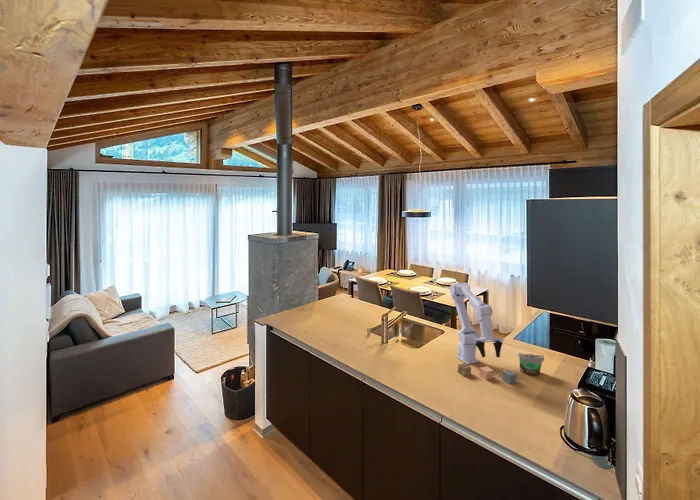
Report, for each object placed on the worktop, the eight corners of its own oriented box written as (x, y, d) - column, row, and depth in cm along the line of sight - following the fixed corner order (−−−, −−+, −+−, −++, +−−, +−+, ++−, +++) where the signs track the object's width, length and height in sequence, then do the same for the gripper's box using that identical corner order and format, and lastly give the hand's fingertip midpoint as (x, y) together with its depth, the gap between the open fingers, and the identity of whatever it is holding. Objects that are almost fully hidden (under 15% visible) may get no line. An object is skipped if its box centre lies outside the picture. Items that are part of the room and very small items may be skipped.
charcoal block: (502, 379, 176) (502, 371, 175) (509, 378, 177) (509, 369, 177) (509, 384, 171) (509, 375, 171) (516, 382, 173) (516, 373, 172)
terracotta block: (479, 376, 179) (480, 367, 178) (486, 374, 181) (487, 366, 180) (485, 380, 175) (486, 371, 174) (492, 378, 177) (493, 370, 176)
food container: (520, 376, 179) (522, 357, 177) (516, 370, 185) (518, 352, 183) (546, 378, 177) (548, 359, 176) (541, 372, 183) (543, 354, 182)
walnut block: (457, 372, 183) (458, 364, 182) (464, 370, 184) (465, 362, 184) (463, 376, 179) (463, 368, 178) (470, 374, 180) (471, 366, 179)
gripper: (469, 330, 181) (473, 357, 178) (496, 328, 170) (501, 358, 167) (476, 329, 185) (480, 356, 182) (503, 328, 175) (508, 356, 172)
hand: (490, 357), depth 175 cm, fingers open, 7 cm apart
